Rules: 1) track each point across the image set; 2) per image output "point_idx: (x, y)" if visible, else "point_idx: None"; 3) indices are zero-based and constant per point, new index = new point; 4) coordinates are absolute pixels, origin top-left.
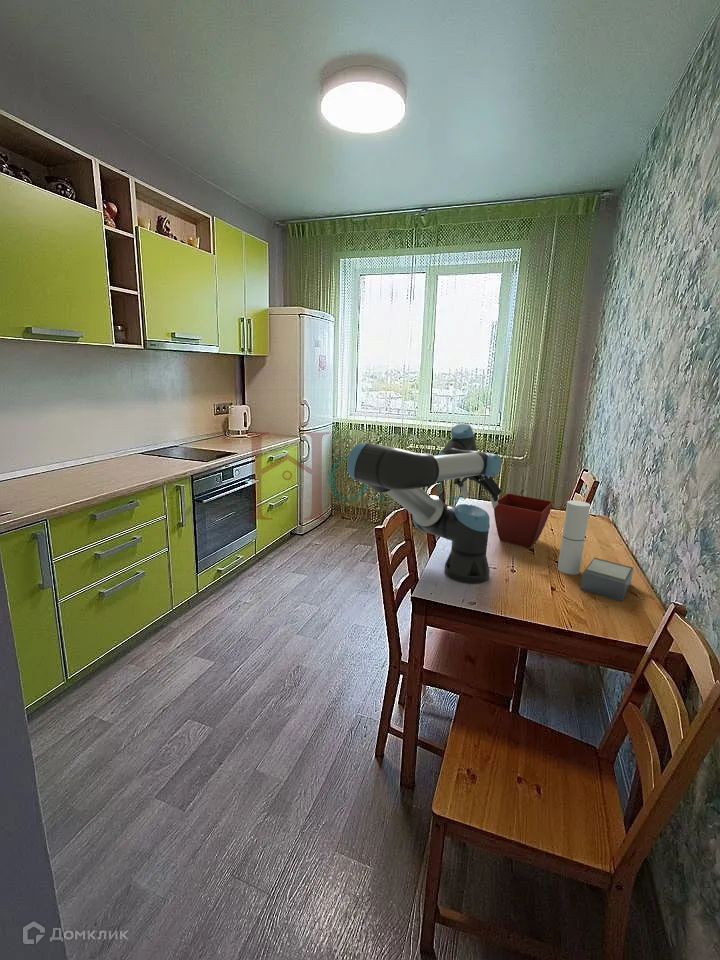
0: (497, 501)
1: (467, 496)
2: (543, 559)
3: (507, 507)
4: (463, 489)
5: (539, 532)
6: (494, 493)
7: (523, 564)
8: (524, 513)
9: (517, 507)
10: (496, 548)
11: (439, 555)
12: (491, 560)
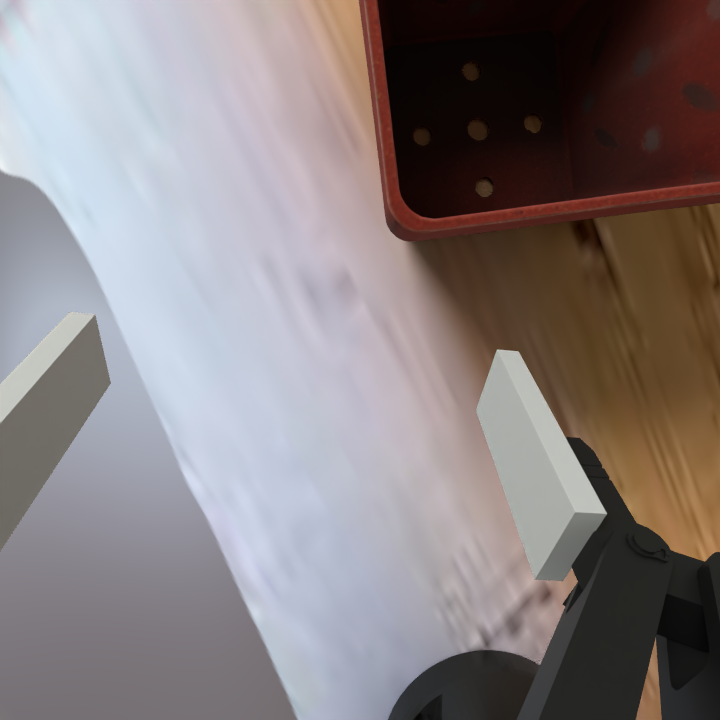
0: (530, 377)
1: (99, 344)
2: (676, 312)
3: (544, 218)
4: (24, 490)
5: (620, 66)
6: (660, 658)
7: (627, 448)
8: (692, 203)
9: (651, 193)
10: (441, 354)
11: (276, 668)
12: (495, 523)
